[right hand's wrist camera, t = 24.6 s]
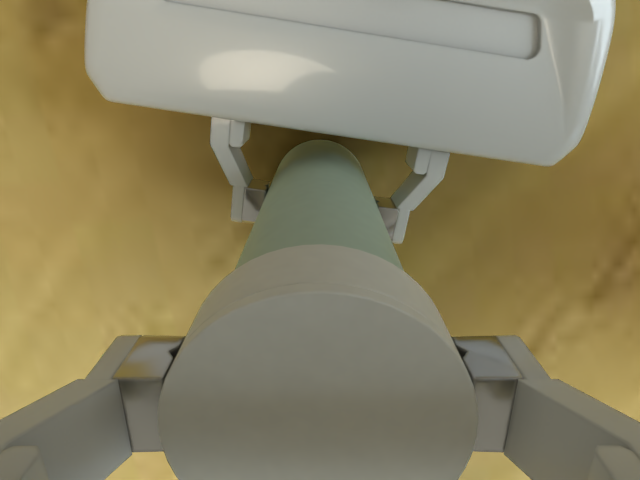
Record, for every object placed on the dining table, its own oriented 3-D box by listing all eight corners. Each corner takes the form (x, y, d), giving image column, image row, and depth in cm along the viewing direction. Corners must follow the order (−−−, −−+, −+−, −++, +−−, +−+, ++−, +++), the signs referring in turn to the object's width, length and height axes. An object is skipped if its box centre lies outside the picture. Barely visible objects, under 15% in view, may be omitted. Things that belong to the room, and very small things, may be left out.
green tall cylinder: (341, 123, 25) (387, 244, 8) (378, 204, 27) (481, 449, 10) (259, 163, 26) (139, 352, 9) (299, 240, 27) (265, 524, 10)
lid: (395, 482, 12) (411, 568, 10) (168, 430, 11) (134, 511, 9) (491, 285, 10) (535, 343, 8) (219, 209, 9) (190, 249, 7)
